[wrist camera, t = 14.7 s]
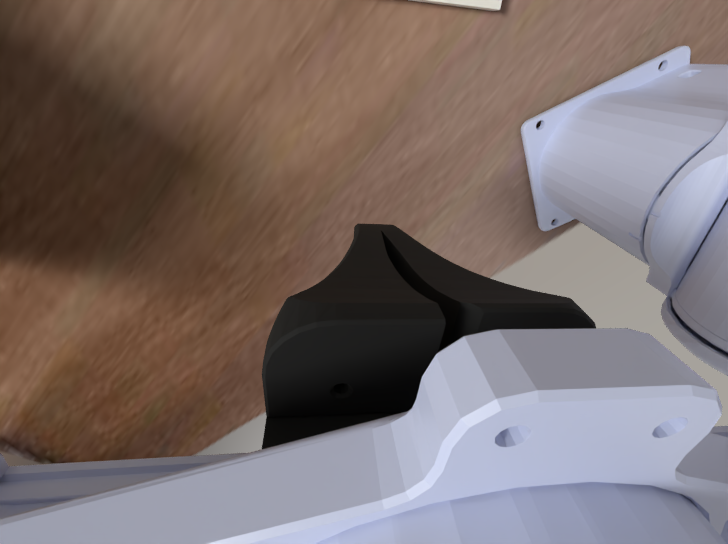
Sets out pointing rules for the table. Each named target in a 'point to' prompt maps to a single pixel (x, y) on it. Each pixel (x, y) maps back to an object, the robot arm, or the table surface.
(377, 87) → the table surface
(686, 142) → the robot arm
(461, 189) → the table surface
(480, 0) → the board
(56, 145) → the table surface
